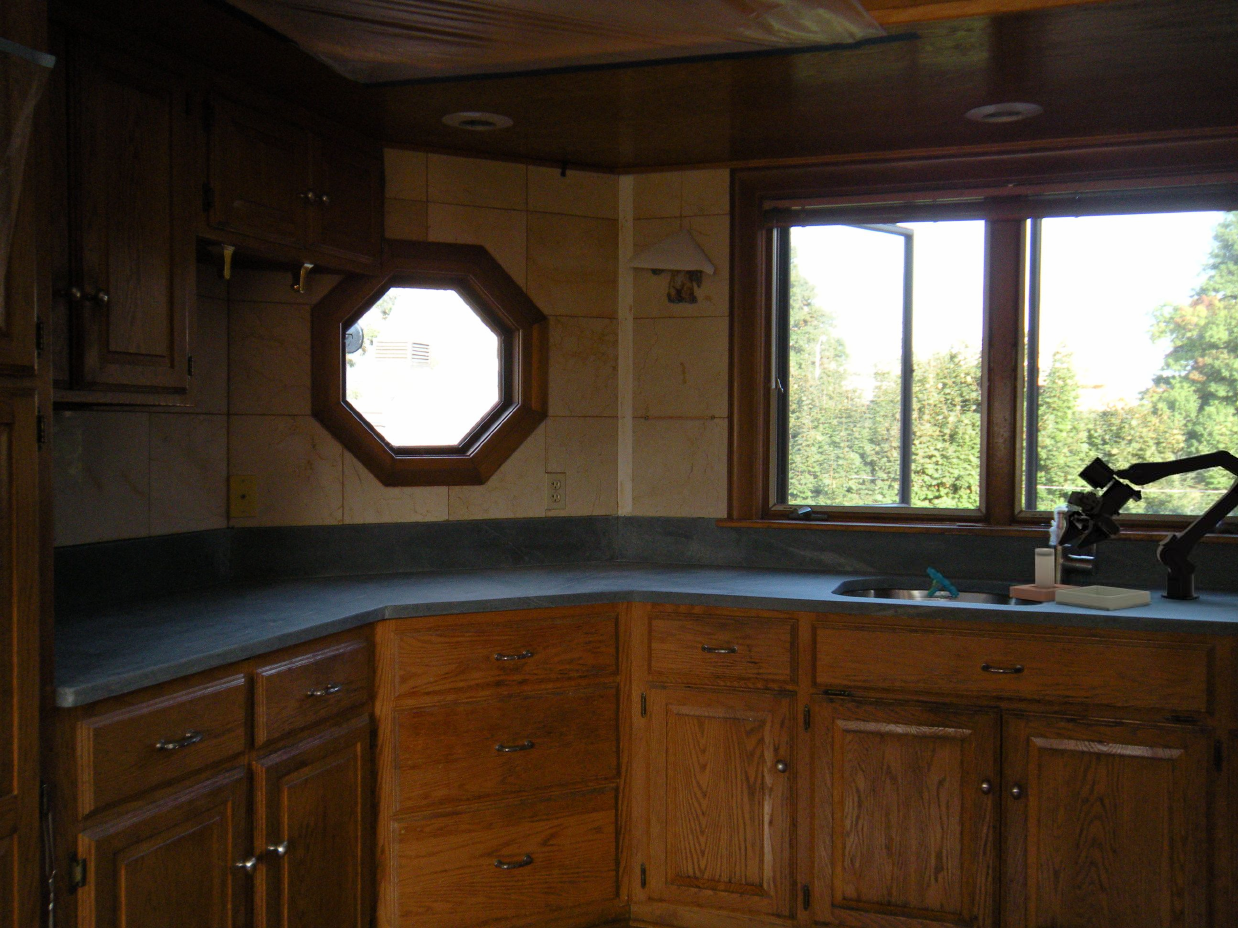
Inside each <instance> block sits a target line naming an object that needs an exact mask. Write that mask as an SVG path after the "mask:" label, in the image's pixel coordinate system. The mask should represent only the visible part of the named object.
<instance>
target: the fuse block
mask: <svg viewBox="0 0 1238 928" xmlns="http://www.w3.org/2000/svg"><path fill="white" fill-rule="evenodd" d="M1073 588H1081V586H1075V585H1066V584H1059V583H1054V588H1053V589H1043V588H1035V583H1034V584H1033V583H1032V584H1025V585H1015V586H1009V598H1014V599H1023V600H1030V601H1036V602H1044V603H1045V602H1051V601H1055V591H1057V590H1065V589H1073Z"/></svg>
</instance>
